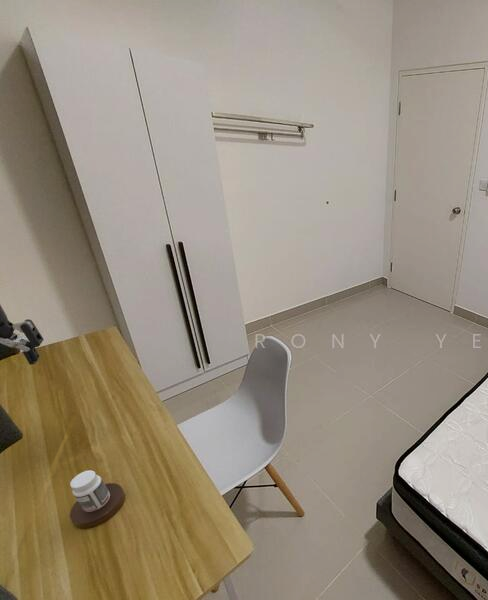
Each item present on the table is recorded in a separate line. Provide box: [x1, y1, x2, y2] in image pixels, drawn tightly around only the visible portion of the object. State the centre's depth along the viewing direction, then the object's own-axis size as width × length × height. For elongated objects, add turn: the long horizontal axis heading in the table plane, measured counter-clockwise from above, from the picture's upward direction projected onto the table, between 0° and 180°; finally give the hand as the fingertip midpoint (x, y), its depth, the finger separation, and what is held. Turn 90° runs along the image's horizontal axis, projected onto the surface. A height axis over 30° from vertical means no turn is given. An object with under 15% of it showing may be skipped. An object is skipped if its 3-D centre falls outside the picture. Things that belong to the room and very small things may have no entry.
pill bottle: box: [69, 469, 110, 512], centre depth 71 cm, size 5×5×8 cm
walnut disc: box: [69, 482, 126, 530], centre depth 74 cm, size 9×9×2 cm
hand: (7, 367), depth 73 cm, fingers open, 8 cm apart
